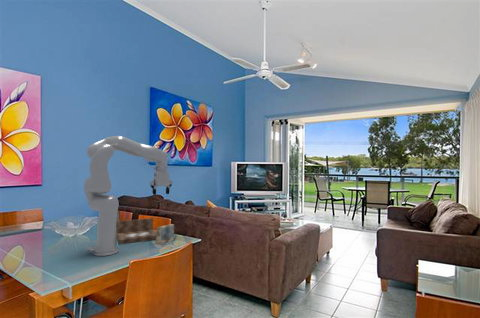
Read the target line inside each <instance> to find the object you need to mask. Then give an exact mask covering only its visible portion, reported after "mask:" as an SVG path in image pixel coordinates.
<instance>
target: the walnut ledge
mask: <svg viewBox="0 0 480 318" xmlns="http://www.w3.org/2000/svg"><path fill="white" fill-rule="evenodd" d="M153 219H154V217H150V218H139V219H129V220H127V219H126V220H119V221H116V242H117V243H118V245H124V244H125V245H126V244H132V243H140V242H149V241H153V240H154V241H156V238H157V231H155V230H154V229H153V228H154V227H153V225H154V220H153Z"/></svg>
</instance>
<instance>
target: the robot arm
mask: <svg viewBox="0 0 480 318" xmlns="http://www.w3.org/2000/svg"><path fill="white" fill-rule="evenodd" d="M115 151H118V152H122V153H125V154H128V155H131V156H132V157H141V158H143V159H145V161H147V162H150V163H153V162H155V167H154V168H153V170H155V171H154V175H153V179H152V180H151V181H149V182H148V184H149V187H150V188H151V189H152V195H153V196H156V195H157V187H166V188H165V194H166V195H169V194H170V188H171V186H172V185H173V183H174V181H172V180H170V173H169V170H168V152H167V151H163V150H162V149H160V148H159V147H158V148H157V147H156V146H153V145H150V144H149V145H148V144H144V143H140V142H137V141H135V140H133V139H130V138H127V137H125V136H123V135H114V136H108V137H105V138H103V139H101V140H99V141H97V142H94V143H92V144H90V145H89V146H88V147H87V149H86V154H87V156H88V157H89V158H90V159H91V160H90V163H89V174H90V176H89V177H87V178H86V179H85V181H84V183H83V190H84V194H85V198H86V200H87V203H88V204H87V205H88V207H89V208H90V209H91V210H92V211H94V212H95V211H96V212H99V214H98V217H97V224H96V225H97V227H96V228H97V229H96V244H95V245H94V246H87V247H86V249H87V250H86V251H87V252H93V255H94V256H95V257H97V256H98V257H105V256H112V255H115V254H117V253H118V252H120V249H119V248H118V247H117V239H116V221H117V211H119V206H120V205H119V203H120V202H119V199H118V198H117V197H116V196H115V195H111V194H107V193H109V192H111V190H112V182H111V178H110V173H109V170H108V163H109V161H110V159H111V158H112V157H113V155H114V153H115Z"/></svg>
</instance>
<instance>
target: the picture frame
mask: <svg viewBox="0 0 480 318" xmlns="http://www.w3.org/2000/svg"><path fill="white" fill-rule="evenodd" d="M156 233H157V238H156V240H155V244H156V245H162V244H167V243H171V242H174V241H175V224H173V223H171V224H167V225H161V226H157V227H156Z"/></svg>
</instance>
